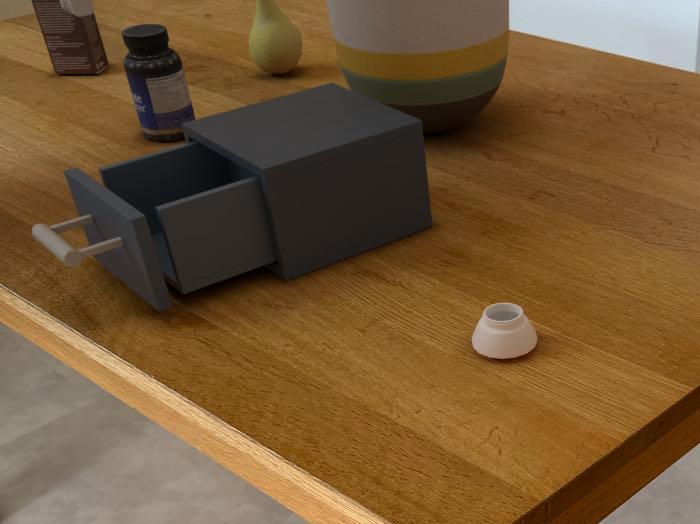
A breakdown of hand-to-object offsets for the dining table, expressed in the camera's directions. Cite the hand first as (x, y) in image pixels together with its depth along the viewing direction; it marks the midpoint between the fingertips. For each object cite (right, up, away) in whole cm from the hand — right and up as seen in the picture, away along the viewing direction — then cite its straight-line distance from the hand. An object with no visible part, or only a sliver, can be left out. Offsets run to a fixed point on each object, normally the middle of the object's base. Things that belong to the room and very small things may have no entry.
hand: (79, 12), depth 88 cm
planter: (+28, +2, +28) cm, 39 cm away
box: (-21, +17, +47) cm, 54 cm away
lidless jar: (+38, -31, -9) cm, 50 cm away
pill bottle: (-2, +1, +28) cm, 28 cm away
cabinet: (+19, -16, +8) cm, 26 cm away
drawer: (+9, -22, 0) cm, 24 cm away
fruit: (+6, +14, +43) cm, 46 cm away
